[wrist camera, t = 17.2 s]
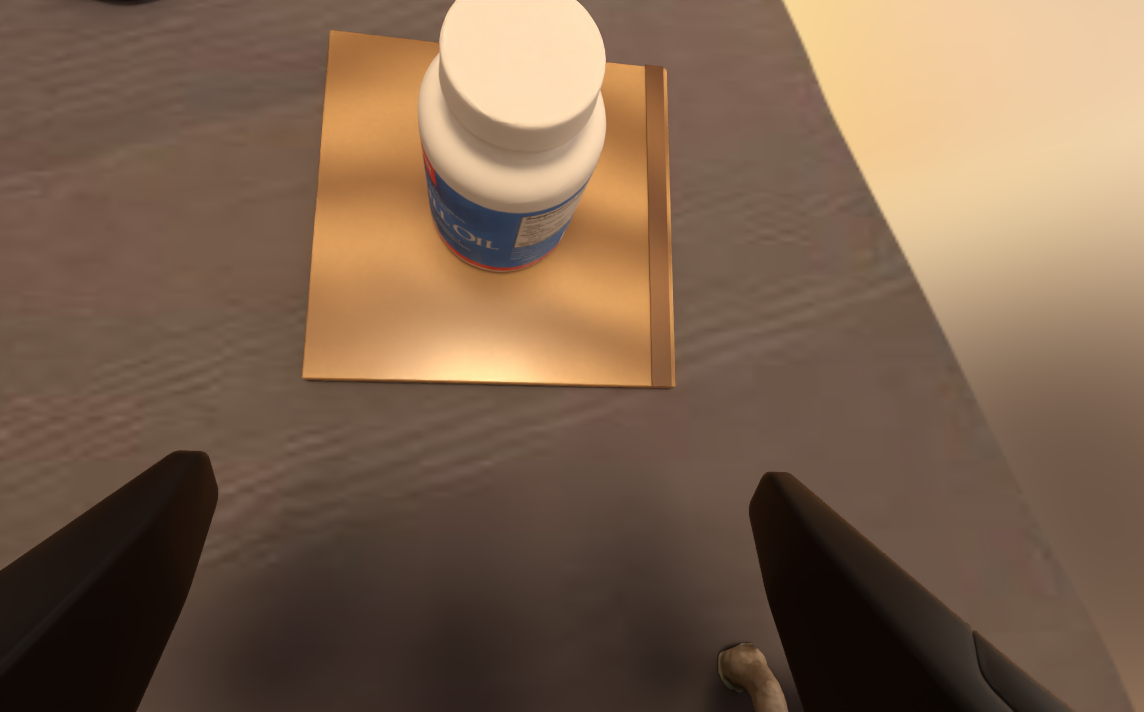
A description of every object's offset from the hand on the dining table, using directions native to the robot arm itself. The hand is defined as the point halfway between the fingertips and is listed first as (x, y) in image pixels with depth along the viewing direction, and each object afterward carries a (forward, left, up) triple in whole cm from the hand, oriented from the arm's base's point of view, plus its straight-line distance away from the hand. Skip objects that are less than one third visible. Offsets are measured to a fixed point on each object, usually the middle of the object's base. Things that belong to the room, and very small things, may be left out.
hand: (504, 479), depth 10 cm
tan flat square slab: (+10, 0, -13) cm, 16 cm away
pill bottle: (+10, 0, -12) cm, 16 cm away
